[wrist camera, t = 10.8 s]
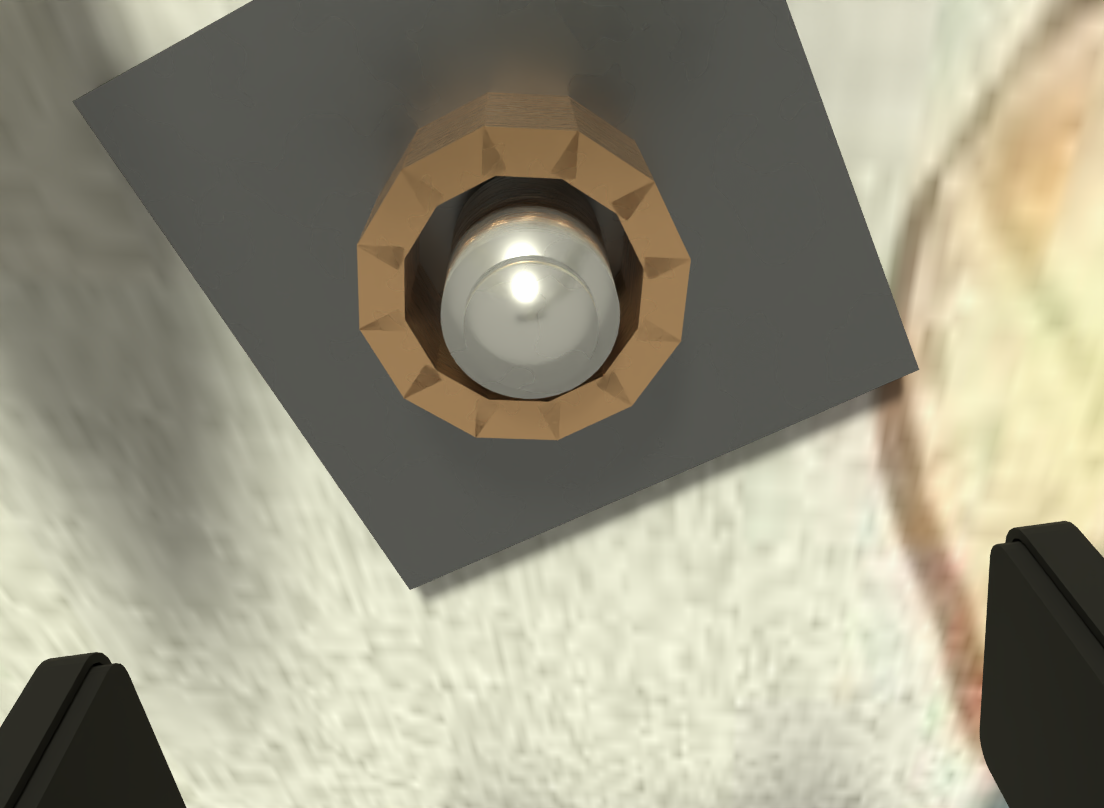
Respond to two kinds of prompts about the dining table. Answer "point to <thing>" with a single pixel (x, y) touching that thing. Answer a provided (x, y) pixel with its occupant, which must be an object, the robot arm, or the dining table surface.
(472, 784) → the dining table surface
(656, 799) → the dining table surface
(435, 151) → the copper ring
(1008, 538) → the robot arm
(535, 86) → the block
